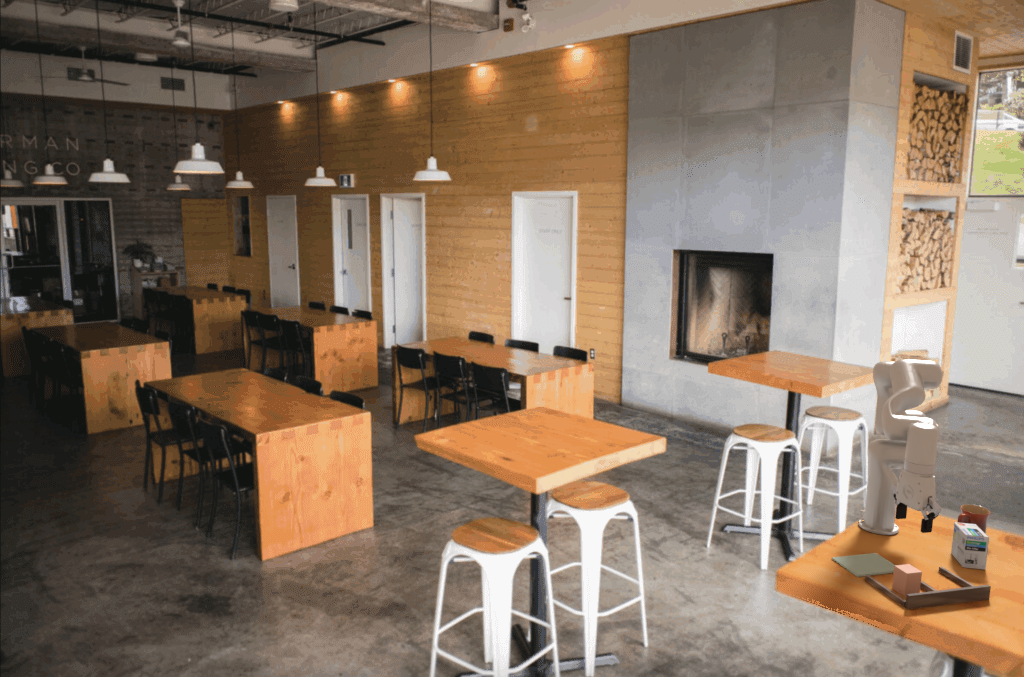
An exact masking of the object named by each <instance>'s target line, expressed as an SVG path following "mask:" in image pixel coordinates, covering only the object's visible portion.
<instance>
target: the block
mask: <svg viewBox="0 0 1024 677" xmlns="http://www.w3.org/2000/svg"><path fill="white" fill-rule="evenodd" d="M895 565H896V564H895ZM892 574H893V576H892V584H891V589H893V590H894V591H895V592H897V593H899V594H900V595H902V596H903V597H906V596H907V594H913V593H921V587H920V586H921V581H922V577H923V576H922V575H923V572H922V570H920V569H918V568H916V567H915V566H913V565H911V564H910V563H907V564H906V563H905V564H898V565H896V566H894V573H892Z"/></svg>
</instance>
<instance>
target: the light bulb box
mask: <svg viewBox="0 0 1024 677" xmlns="http://www.w3.org/2000/svg"><path fill="white" fill-rule="evenodd" d="M952 533H953V534H952V542H951V551H950V553H951V555H952V556H953V557H954V559H955V560H956V561H957V562H958V563H959V564H960V566H961V567H962V568H965V569H966V568H967V569H974V570H975V569H976V570H977V569H978V570H986V569H987V559H988V551H989V544H990V543H989V542H990V536H989V535H988V534H987V533H986V534H985V533H984V532H983V531H982V530H981V529H980V528H979V527H978V526H977V525H976V524H968V523H959V522H957V521H954V524H953V532H952Z"/></svg>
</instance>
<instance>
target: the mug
mask: <svg viewBox="0 0 1024 677" xmlns="http://www.w3.org/2000/svg"><path fill="white" fill-rule="evenodd" d="M960 511H961V513H960V514H959V515H958V516H957V521H956V522H959V523H968V524H976V525H977V526H978V527H979V528H980V529H981V530H982V531H983V532H984V533H985V534H986V535H987V527H988V519H989V517H990V515H991V514H992V513H991V511H990V510H989V509H988V508H986V507H985V506H981V505H976V504H962V505H961V506H960Z"/></svg>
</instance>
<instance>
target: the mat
mask: <svg viewBox="0 0 1024 677" xmlns="http://www.w3.org/2000/svg"><path fill="white" fill-rule="evenodd" d="M832 559H833V560H832ZM831 560H832V561H833V562H835V561H836V562H835V563H837V564H838V563H839V564H840V565H839V564H838V565H839V566H841V567H842V566H843V568H844V569H845V568H846V569H845V570H847V571H848V572H850V573H851V574H853V575H854V576H855V577H857V578H859V577H860V578H861V577H865V575H869V576H876V575H889V574H894V566H896V564H894V563H893V562H892V561H890V560H888V559H886V558H885V557H884V556H881V555H880V554H879V553H877V552H871V553H870V552H869V553H862V554H853V555H852V554H851V555H842V556H833V557H831Z"/></svg>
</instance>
